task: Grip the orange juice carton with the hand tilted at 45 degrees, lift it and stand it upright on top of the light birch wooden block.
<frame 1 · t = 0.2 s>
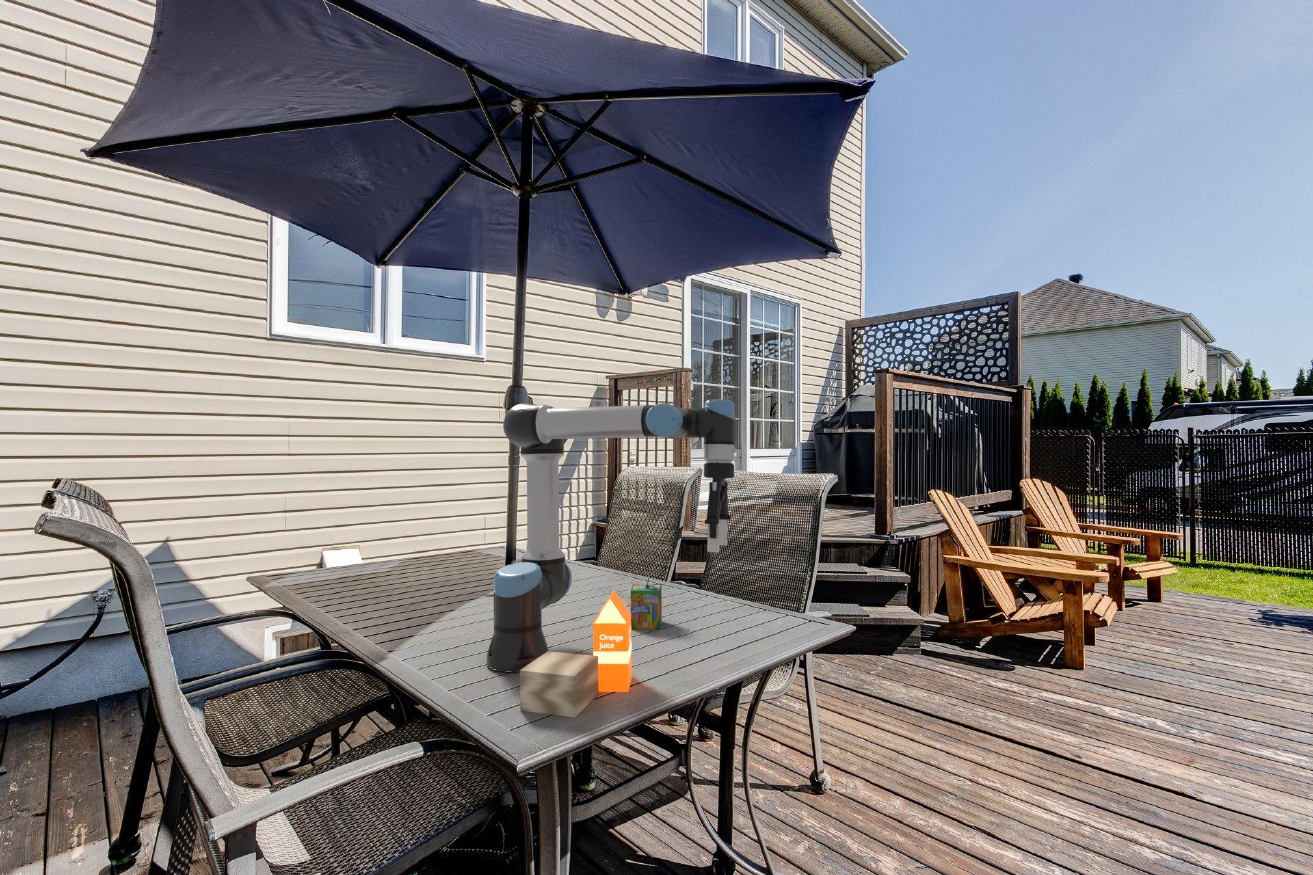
hand: (717, 548, 147), 28 cm above the table, tool pointing down, fingers open, 13 cm apart
chalk box: (646, 626, 178), on the table
orange juice: (613, 684, 133), on the table
birch block: (560, 701, 124), on the table
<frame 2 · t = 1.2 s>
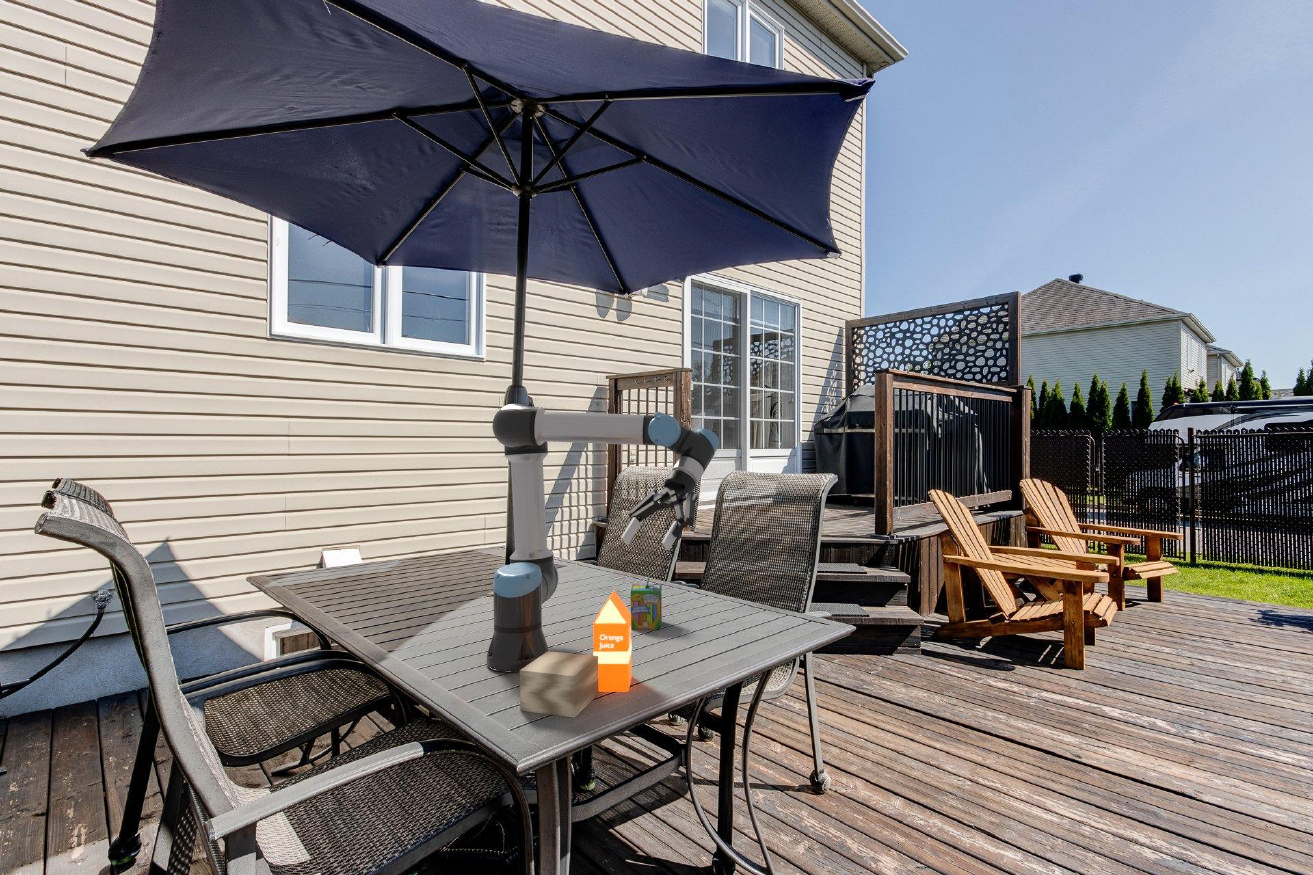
hand: (644, 543, 143), 30 cm above the table, tool tilted 45°, fingers open, 13 cm apart
nothing on the table moved.
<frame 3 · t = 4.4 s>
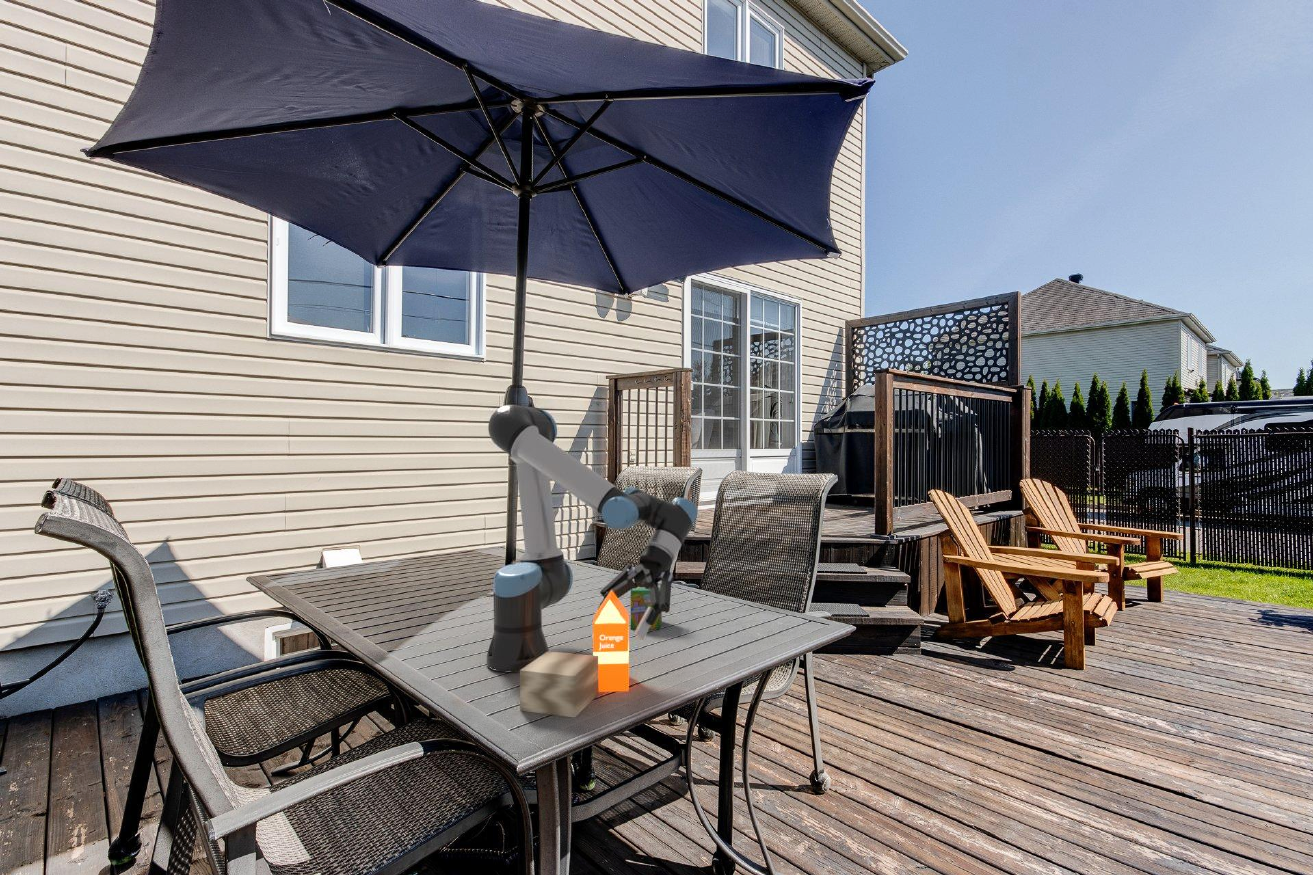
hand: (616, 630, 133), 12 cm above the table, tool tilted 45°, fingers open, 13 cm apart
orange juice: (612, 684, 133), on the table, touching gripper
everything else where it was.
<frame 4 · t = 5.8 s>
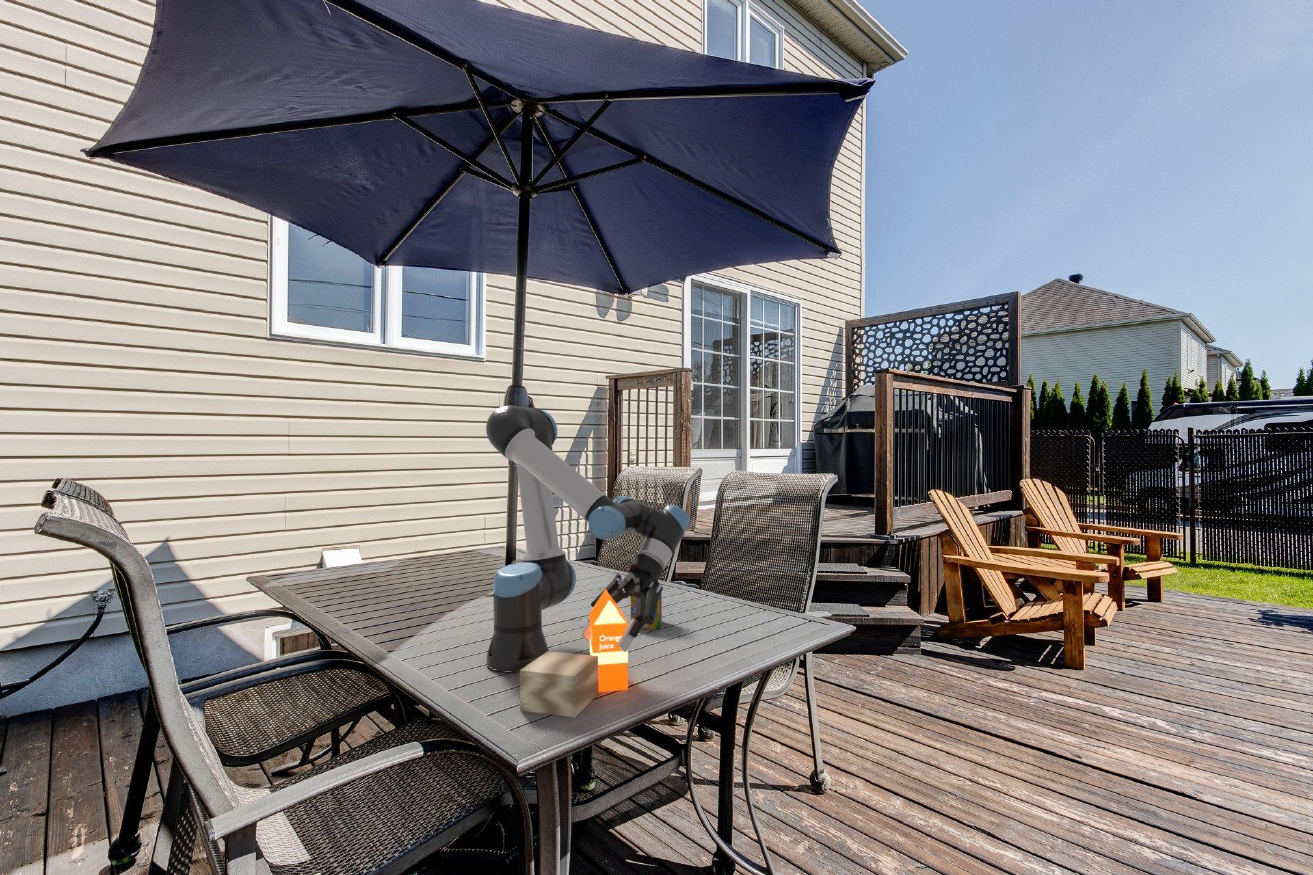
hand: (603, 643, 131), 10 cm above the table, tool tilted 45°, fingers closed on orange juice, 11 cm apart
orange juice: (608, 683, 133), on the table, touching gripper
everything else where it was.
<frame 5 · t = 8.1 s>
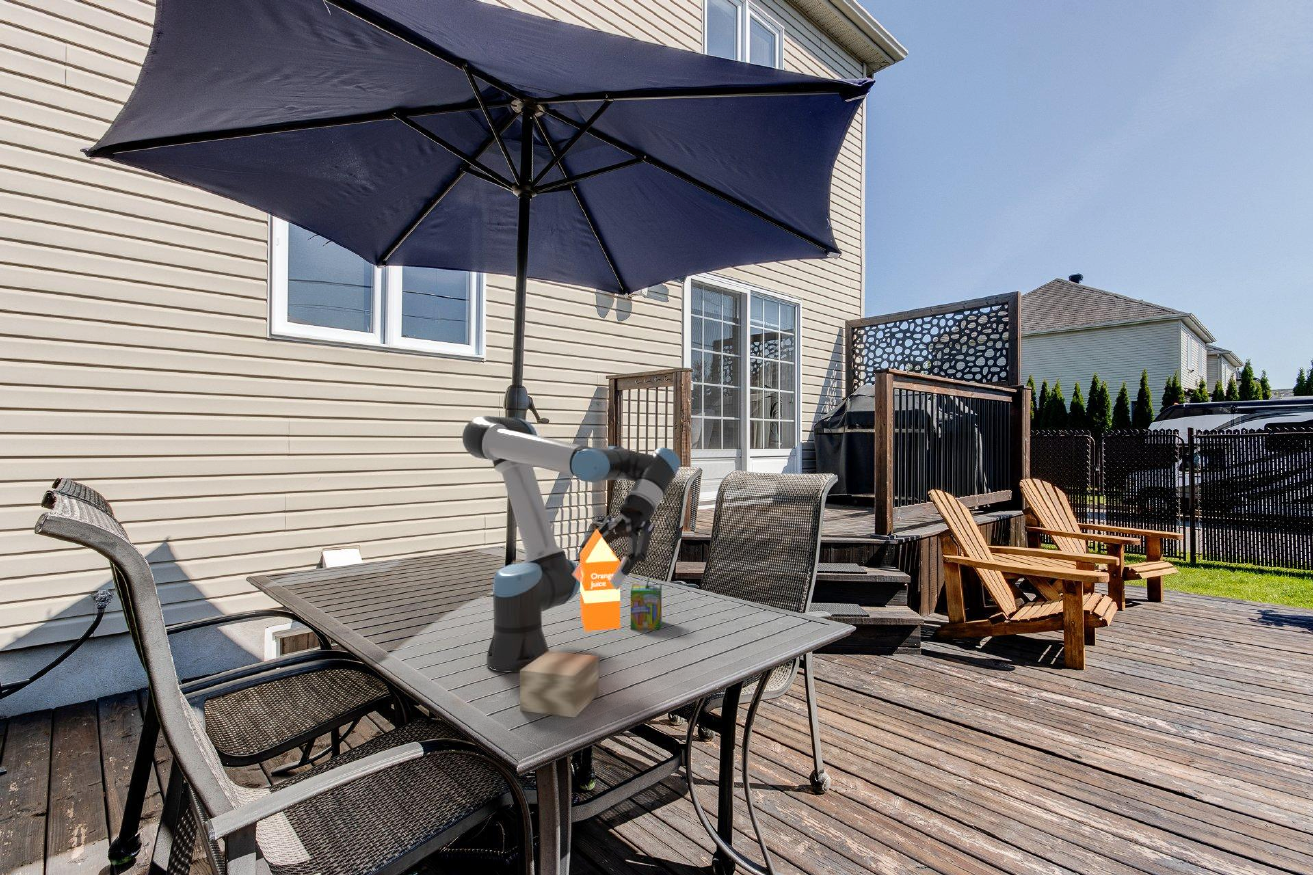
hand: (594, 582, 129), 24 cm above the table, tool tilted 45°, fingers closed on orange juice, 11 cm apart
orange juice: (599, 623, 131), point 14 cm above the table, touching gripper
everything else where it was.
when the fingers open (19 cm above the table, at t = 10.5 s): orange juice drops 1 cm, resting on birch block.
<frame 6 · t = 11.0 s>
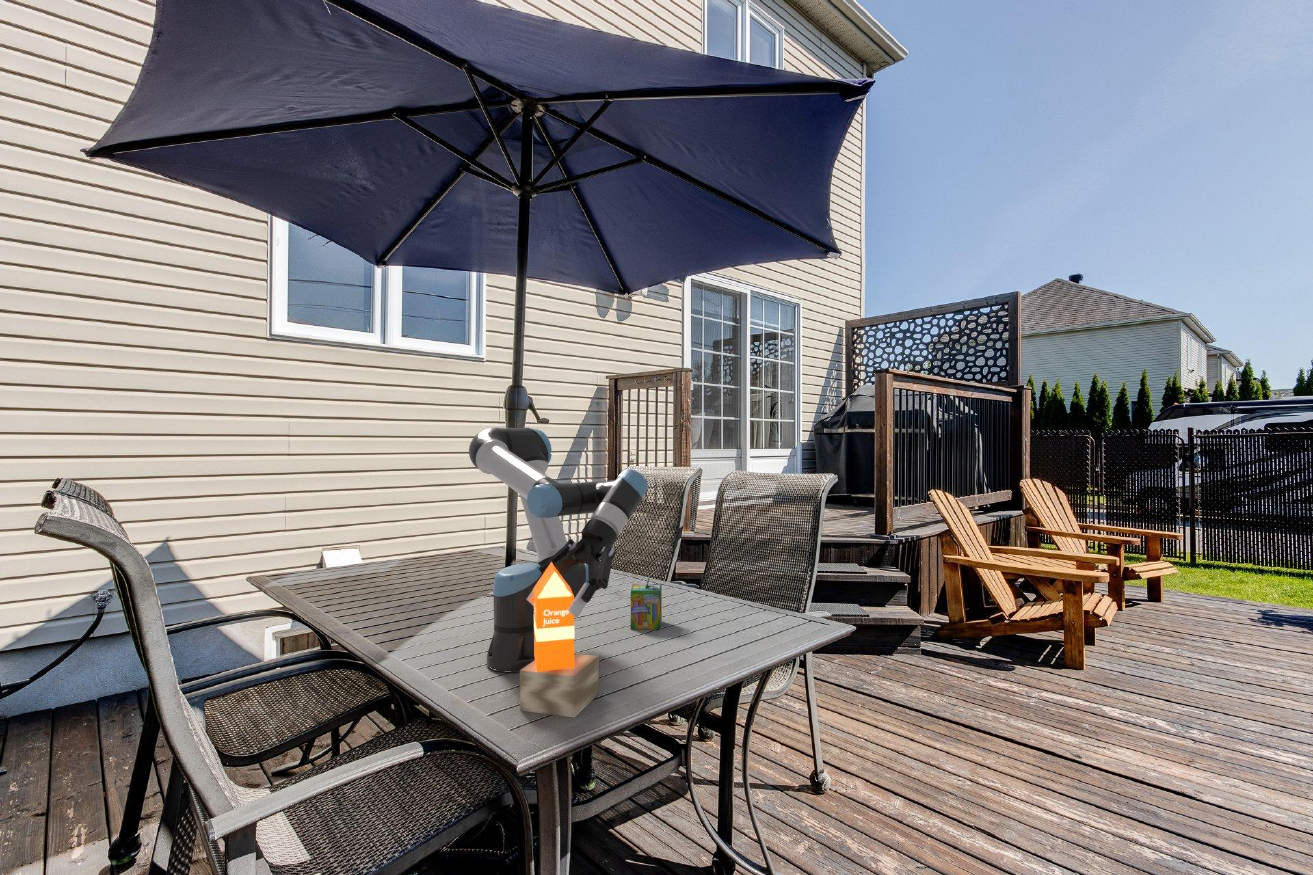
hand: (550, 608, 123), 20 cm above the table, tool tilted 45°, fingers open, 13 cm apart
orange juice: (553, 662, 124), point 8 cm above the table, touching birch block, gripper
everything else where it was.
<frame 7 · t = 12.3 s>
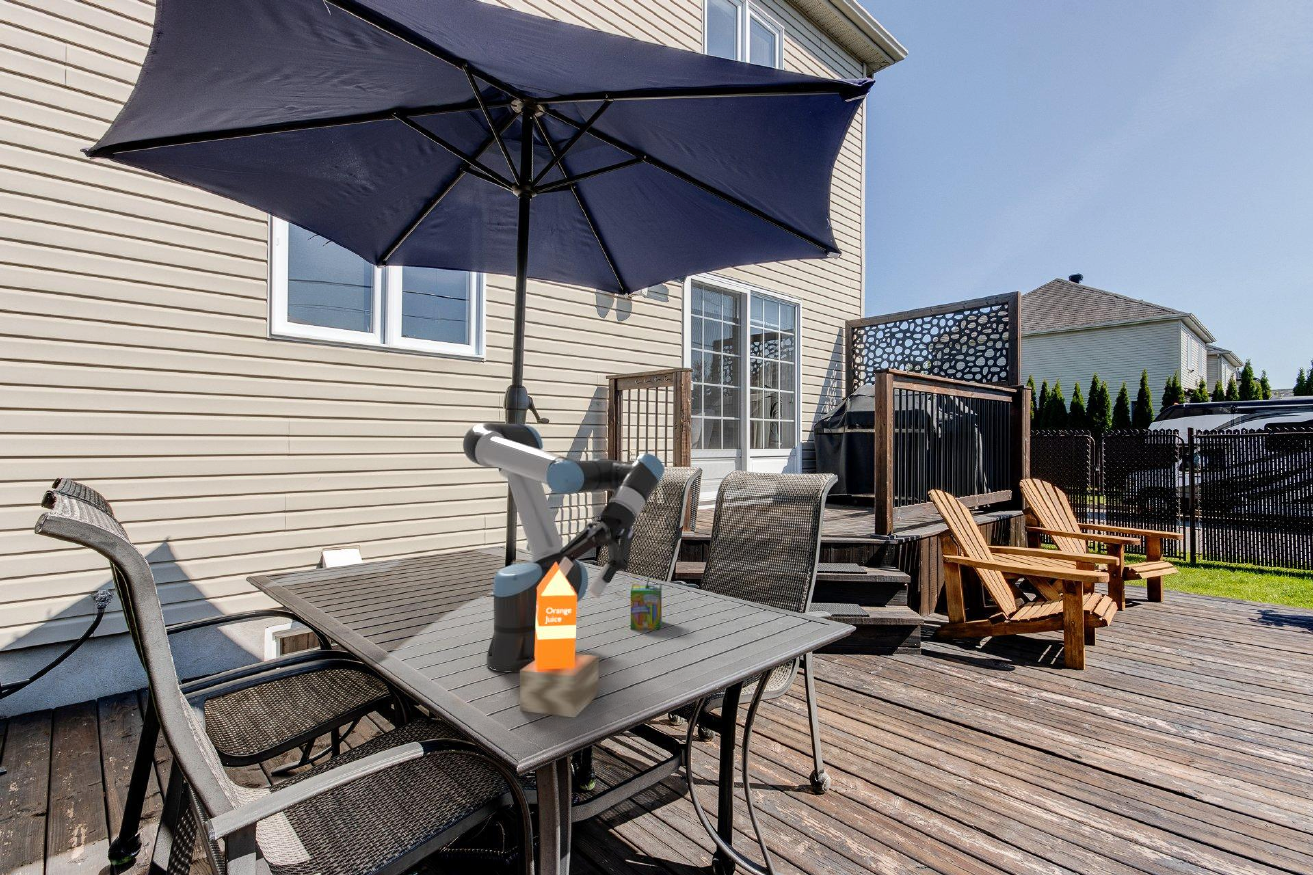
hand: (572, 589, 126), 23 cm above the table, tool tilted 45°, fingers open, 13 cm apart
orange juice: (553, 662, 124), point 8 cm above the table, touching birch block
everything else where it was.
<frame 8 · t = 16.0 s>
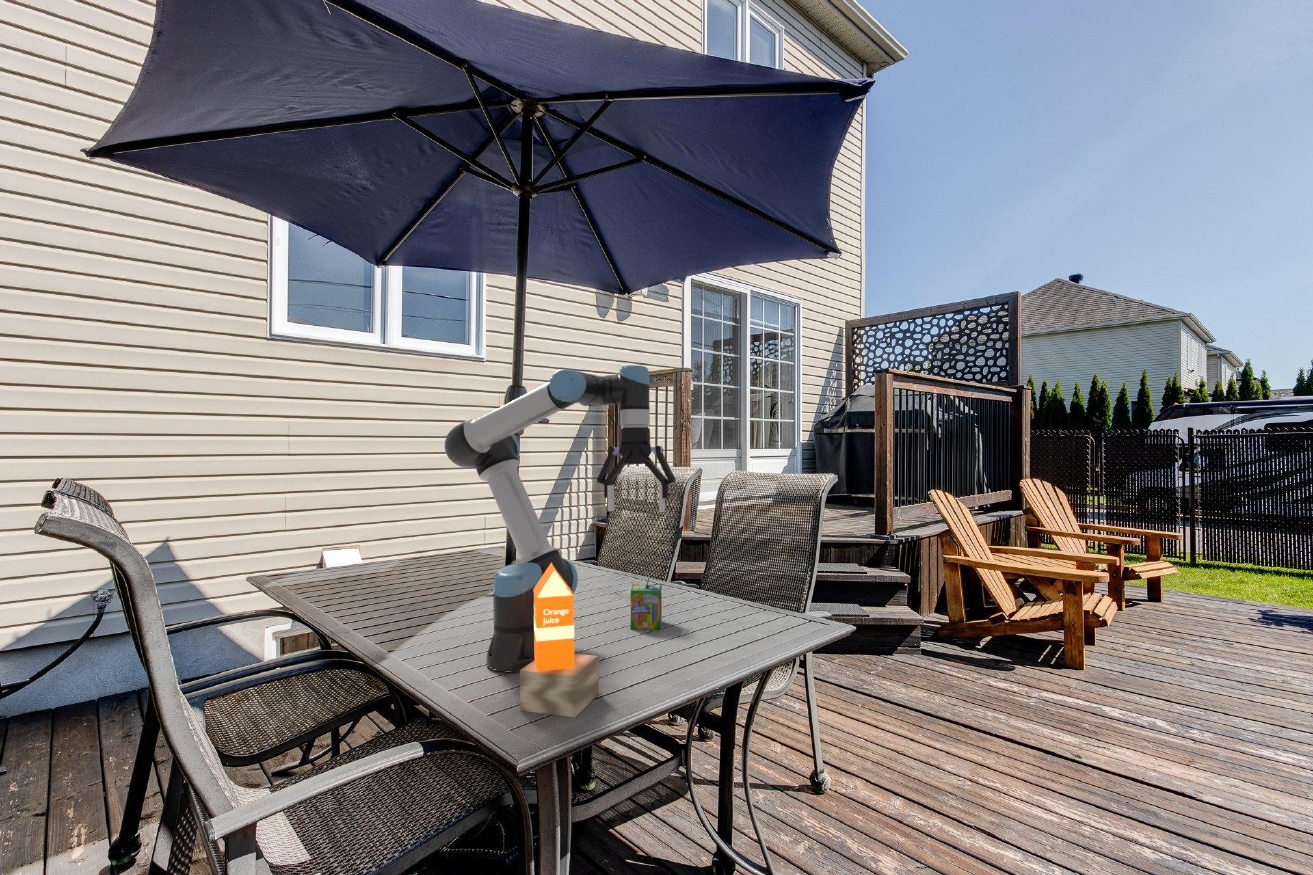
hand: (636, 511, 150), 37 cm above the table, tool pointing down, fingers open, 13 cm apart
nothing on the table moved.
at the end: orange juice inside the target area on the birch block (1.5 cm from its centre), point 7.8 cm above the birch block's base; orange juice tilted 0°; the gripper is holding nothing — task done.
